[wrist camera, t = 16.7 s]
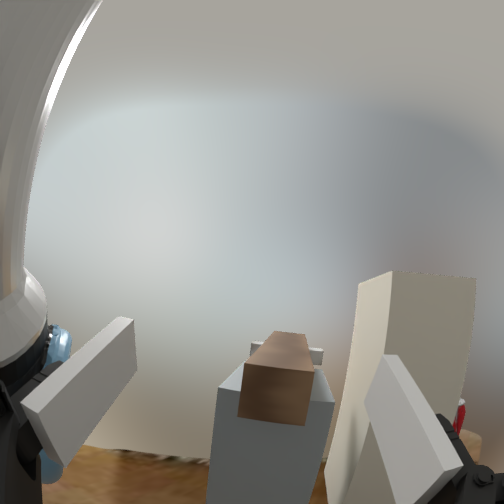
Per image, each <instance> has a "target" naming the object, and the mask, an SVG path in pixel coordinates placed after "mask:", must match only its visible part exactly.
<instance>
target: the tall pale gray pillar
mask: <svg viewBox="0 0 504 504" xmlns="http://www.w3.org/2000/svg"><path fill="white" fill-rule="evenodd" d="M246 361H247V360H245V361H244V362H243V363H242V364H241V365H240V366H239V367H238V368H237V369H236V370H235V371H234V372H233V373H232V374H231V375H230V376H229V377H228V378H227V379H226V380H225V381H224V382H223V383H222V384H221V385H220V386H219V387H218V392H217V393H218V394H217V402H216V410H215V419H214V428H213V437H212V446H211V456H210V466H209V475H208V486H207V496H206V504H308V503H309V500H310V497H311V493H312V490H313V487H314V484H315V481H316V477H317V474H318V470H319V467H320V463H321V460H322V456H323V452H324V448H325V445H326V440H327V436H328V432H329V428H330V423H331V419H332V415H333V410H334V405H335V401H334V398H333V396H332V393H331V391H330V388H329V386H328V383H327V381H326V378H325V375H324V373H323V371H322V370H321V369H314V371H315V373H314V379H313V385H312V391H311V396H310V402H309V407H308V412H307V417H306V422H305V426H297V425H288V424H279V423H272V422H265V421H258V420H252V419H246V418H240V417H237V414H238V406H239V399H240V391H241V384H242V376H243V369H244V363H245V362H246Z"/></svg>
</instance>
